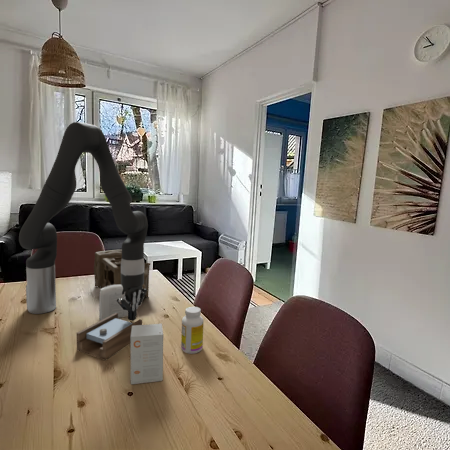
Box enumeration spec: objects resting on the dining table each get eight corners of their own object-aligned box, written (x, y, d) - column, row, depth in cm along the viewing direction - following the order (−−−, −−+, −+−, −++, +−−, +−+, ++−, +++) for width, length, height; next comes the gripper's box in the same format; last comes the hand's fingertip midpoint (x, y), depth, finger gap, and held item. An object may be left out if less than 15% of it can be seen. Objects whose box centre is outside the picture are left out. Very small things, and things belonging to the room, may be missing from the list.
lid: (86, 338, 92) (86, 330, 92) (115, 322, 103) (115, 315, 103) (107, 345, 89) (107, 337, 88) (135, 328, 100) (135, 320, 99)
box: (76, 350, 91) (76, 332, 90) (115, 327, 106) (115, 312, 105) (105, 360, 87) (105, 342, 86) (141, 335, 101) (142, 320, 100)
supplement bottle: (205, 345, 97) (207, 307, 95) (197, 356, 91) (198, 315, 89) (186, 341, 99) (188, 303, 97) (177, 351, 93) (178, 311, 91)
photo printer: (126, 312, 118) (126, 281, 116) (129, 316, 115) (129, 284, 113) (98, 317, 112) (97, 285, 111) (100, 322, 109) (100, 289, 107)
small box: (161, 366, 85) (162, 322, 83) (162, 381, 79) (163, 334, 77) (131, 369, 83) (131, 324, 81) (130, 385, 77) (130, 336, 75)
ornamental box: (159, 310, 127) (165, 267, 126) (117, 315, 116) (124, 268, 114) (126, 284, 154) (131, 248, 152) (90, 286, 142) (95, 247, 141)
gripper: (136, 264, 110) (136, 310, 112) (109, 274, 98) (109, 325, 100) (153, 267, 107) (153, 314, 109) (128, 278, 95) (127, 330, 97)
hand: (132, 319), depth 105 cm, fingers closed
